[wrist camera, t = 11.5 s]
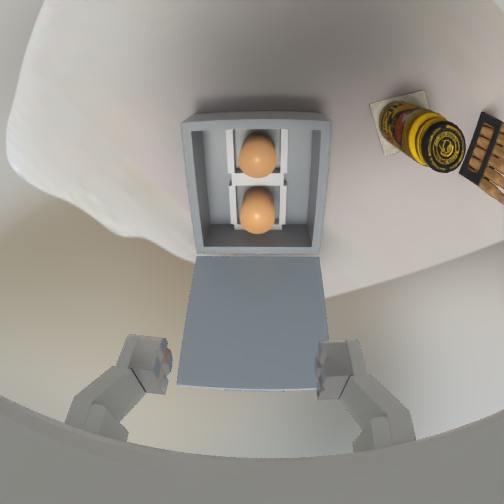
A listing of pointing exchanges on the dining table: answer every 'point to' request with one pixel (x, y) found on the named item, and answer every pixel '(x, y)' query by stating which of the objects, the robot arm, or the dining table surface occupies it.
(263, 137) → the brown wide rounded part
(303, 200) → the housing
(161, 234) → the dining table surface
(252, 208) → the orange short rounded part
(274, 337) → the lid
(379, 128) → the condiment
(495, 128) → the ammunition clip
